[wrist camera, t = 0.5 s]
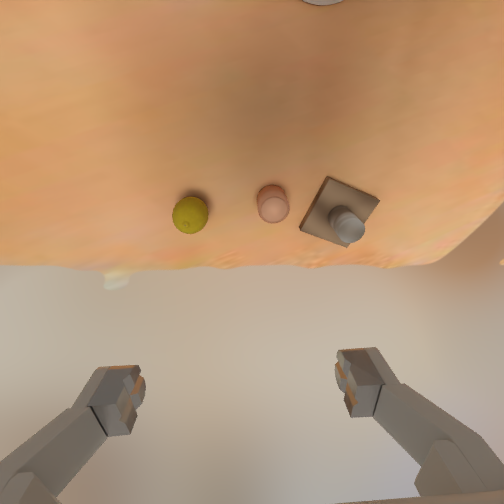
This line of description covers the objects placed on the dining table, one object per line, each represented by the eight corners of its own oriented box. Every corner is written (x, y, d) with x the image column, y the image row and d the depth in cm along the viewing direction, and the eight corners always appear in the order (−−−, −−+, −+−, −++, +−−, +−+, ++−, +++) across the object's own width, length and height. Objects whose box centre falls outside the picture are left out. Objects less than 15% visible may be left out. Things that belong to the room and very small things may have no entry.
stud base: (326, 176, 40) (342, 190, 33) (376, 197, 42) (399, 214, 35) (298, 227, 45) (307, 247, 38) (344, 243, 47) (359, 266, 40)
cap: (263, 180, 40) (265, 189, 36) (290, 191, 41) (295, 201, 37) (252, 207, 42) (253, 218, 38) (278, 216, 43) (281, 228, 39)
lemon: (203, 186, 40) (195, 203, 33) (215, 215, 43) (209, 236, 36) (173, 195, 41) (159, 214, 34) (187, 223, 44) (176, 246, 37)
